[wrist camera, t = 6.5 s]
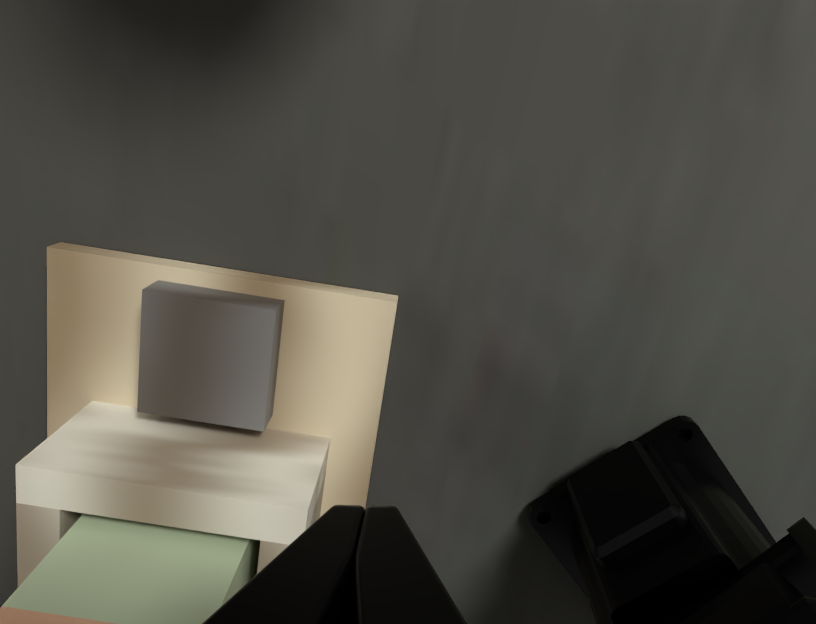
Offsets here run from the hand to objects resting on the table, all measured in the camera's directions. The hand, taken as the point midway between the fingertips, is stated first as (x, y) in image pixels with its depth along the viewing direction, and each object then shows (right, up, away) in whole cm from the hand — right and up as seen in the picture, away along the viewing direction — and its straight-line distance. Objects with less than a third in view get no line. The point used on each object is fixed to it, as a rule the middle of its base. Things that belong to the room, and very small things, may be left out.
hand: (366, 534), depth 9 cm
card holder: (-7, -4, +15) cm, 17 cm away
